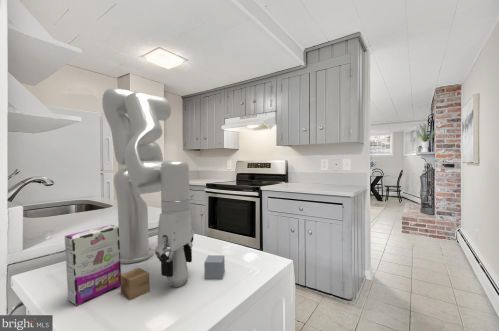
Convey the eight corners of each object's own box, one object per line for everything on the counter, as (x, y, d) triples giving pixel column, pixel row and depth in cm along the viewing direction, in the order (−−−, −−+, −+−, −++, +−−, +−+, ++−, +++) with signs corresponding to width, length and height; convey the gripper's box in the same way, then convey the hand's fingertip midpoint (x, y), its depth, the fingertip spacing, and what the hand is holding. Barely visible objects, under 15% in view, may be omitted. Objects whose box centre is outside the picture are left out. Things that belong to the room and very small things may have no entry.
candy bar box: (112, 281, 69) (110, 224, 68) (122, 285, 66) (120, 226, 66) (66, 301, 59) (63, 234, 59) (75, 307, 57) (73, 238, 56)
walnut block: (121, 294, 62) (120, 274, 62) (139, 285, 66) (139, 267, 66) (130, 300, 59) (130, 280, 59) (149, 291, 63) (149, 272, 63)
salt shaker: (182, 289, 63) (181, 240, 63) (162, 287, 64) (161, 239, 64) (192, 278, 69) (190, 233, 69) (173, 277, 70) (172, 233, 70)
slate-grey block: (204, 279, 69) (204, 262, 69) (208, 271, 74) (208, 255, 74) (222, 279, 68) (221, 262, 68) (224, 271, 73) (224, 255, 73)
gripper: (181, 200, 76) (183, 255, 76) (141, 212, 59) (144, 281, 59) (203, 201, 73) (204, 257, 74) (167, 213, 57) (169, 286, 57)
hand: (177, 268), depth 67 cm, fingers open, 8 cm apart
